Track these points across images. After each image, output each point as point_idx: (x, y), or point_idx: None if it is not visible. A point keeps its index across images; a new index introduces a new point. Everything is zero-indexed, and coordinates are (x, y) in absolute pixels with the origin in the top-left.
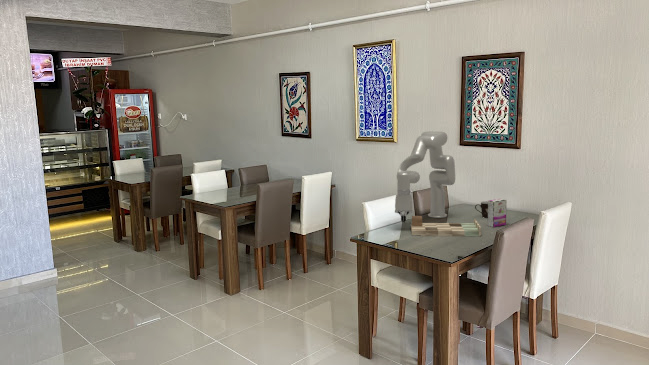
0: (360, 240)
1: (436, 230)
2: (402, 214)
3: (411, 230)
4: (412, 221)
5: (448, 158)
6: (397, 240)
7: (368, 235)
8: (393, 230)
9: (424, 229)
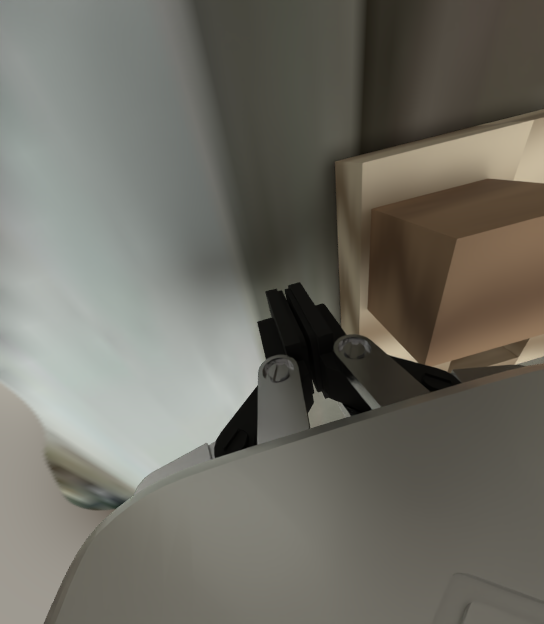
0: (116, 508)
1: (509, 360)
2: (306, 407)
3: (345, 323)
4: (398, 338)
5: None
6: None
7: (91, 458)
8: (190, 319)
9: (443, 366)
